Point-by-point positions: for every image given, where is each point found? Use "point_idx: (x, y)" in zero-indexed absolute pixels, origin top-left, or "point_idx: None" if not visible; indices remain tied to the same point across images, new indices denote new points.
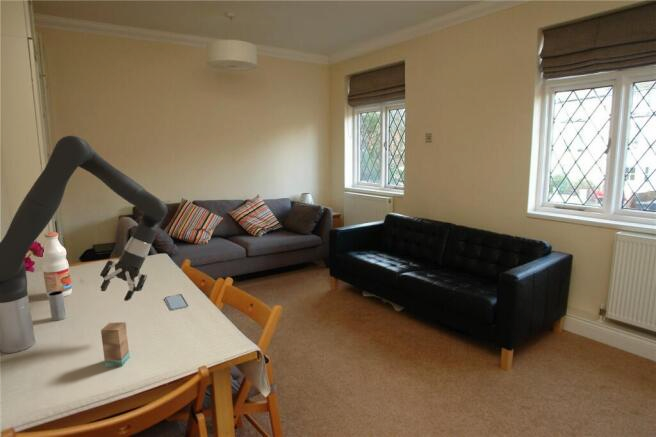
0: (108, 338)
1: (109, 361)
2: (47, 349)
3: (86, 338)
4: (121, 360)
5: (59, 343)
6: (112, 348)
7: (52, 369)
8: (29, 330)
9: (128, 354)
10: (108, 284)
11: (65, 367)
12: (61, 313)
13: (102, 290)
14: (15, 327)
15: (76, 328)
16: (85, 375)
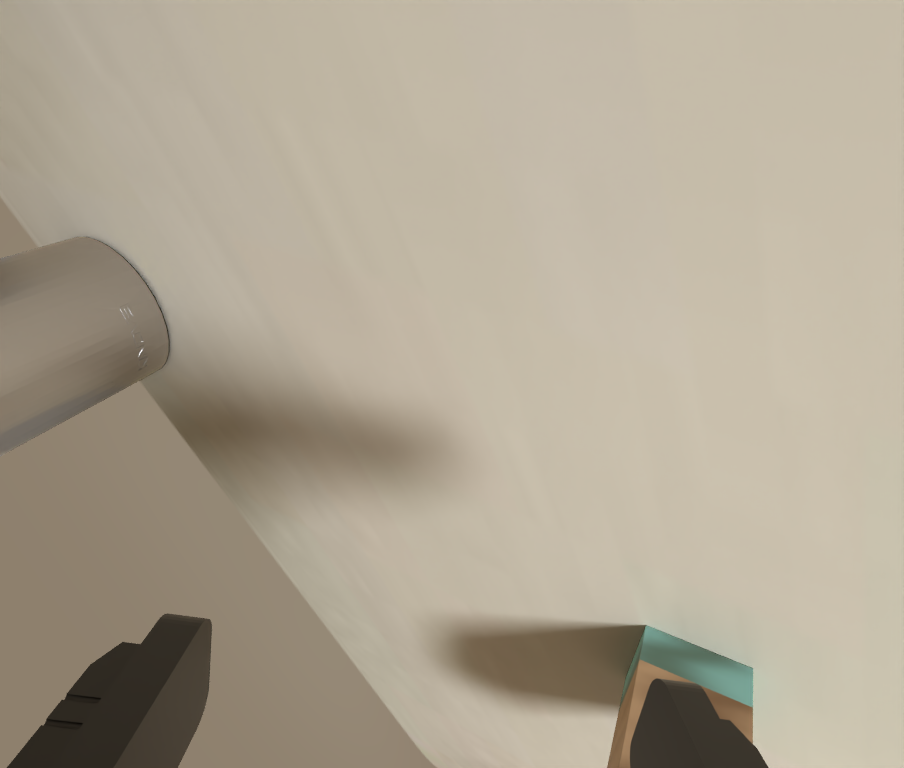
0: None
1: None
2: (258, 389)
3: (381, 319)
4: None
5: (269, 338)
6: None
7: (391, 576)
8: (81, 373)
9: (749, 697)
10: (134, 748)
11: (435, 588)
12: None
13: (195, 717)
14: (30, 439)
15: (226, 118)
16: (552, 687)
